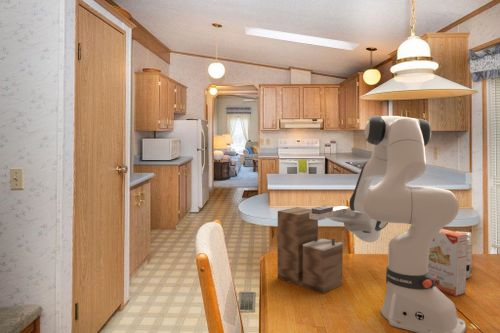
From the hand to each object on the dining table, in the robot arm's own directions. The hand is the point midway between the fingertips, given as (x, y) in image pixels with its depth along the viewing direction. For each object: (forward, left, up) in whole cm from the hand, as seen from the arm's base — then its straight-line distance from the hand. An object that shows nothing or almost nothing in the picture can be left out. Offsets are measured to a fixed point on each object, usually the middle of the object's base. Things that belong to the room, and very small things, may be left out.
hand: (339, 209), depth 142 cm
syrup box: (-29, -47, -27) cm, 62 cm away
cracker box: (-31, -17, -27) cm, 45 cm away
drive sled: (0, +6, -1) cm, 6 cm away
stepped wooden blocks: (+6, +11, -27) cm, 29 cm away
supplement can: (-31, -35, -27) cm, 54 cm away
